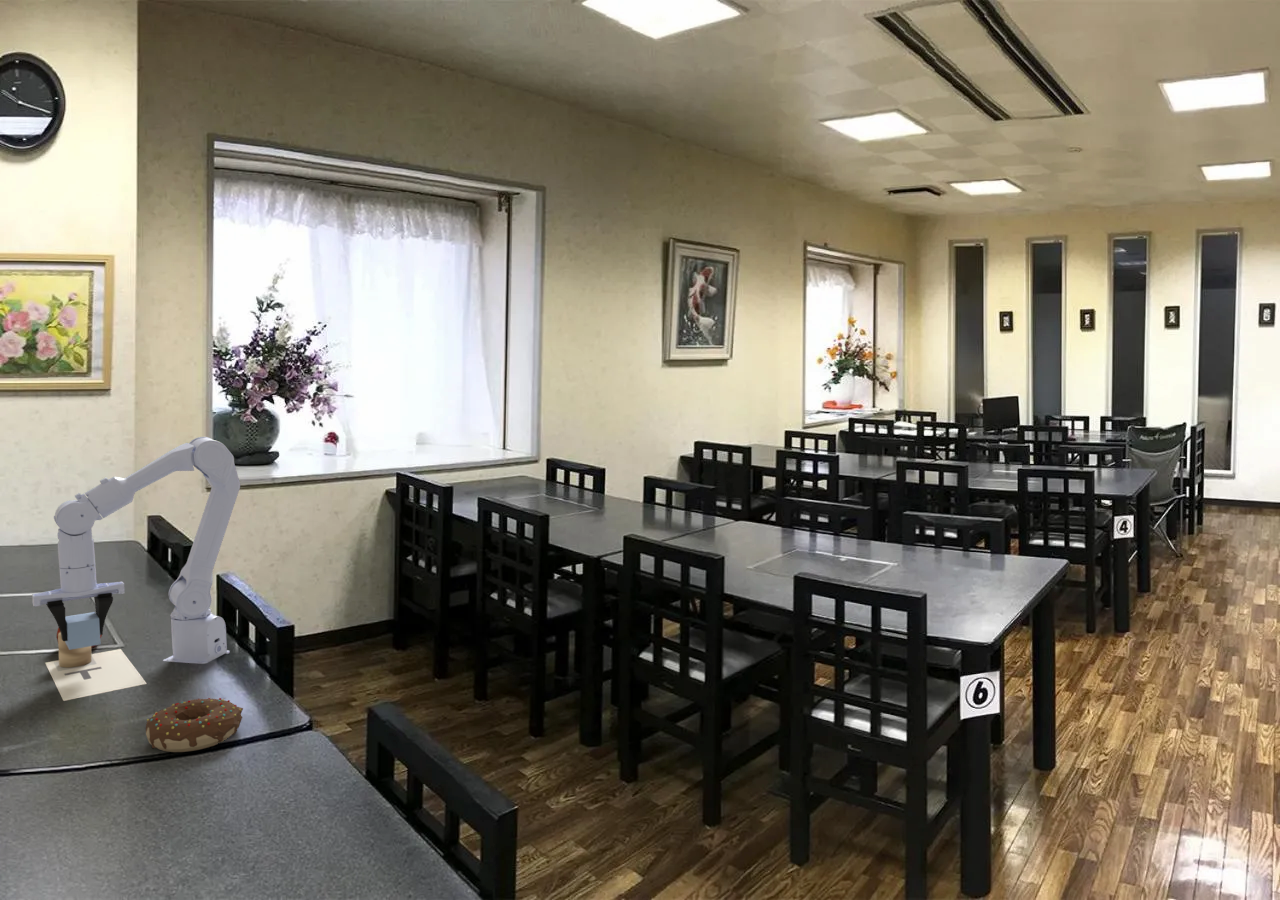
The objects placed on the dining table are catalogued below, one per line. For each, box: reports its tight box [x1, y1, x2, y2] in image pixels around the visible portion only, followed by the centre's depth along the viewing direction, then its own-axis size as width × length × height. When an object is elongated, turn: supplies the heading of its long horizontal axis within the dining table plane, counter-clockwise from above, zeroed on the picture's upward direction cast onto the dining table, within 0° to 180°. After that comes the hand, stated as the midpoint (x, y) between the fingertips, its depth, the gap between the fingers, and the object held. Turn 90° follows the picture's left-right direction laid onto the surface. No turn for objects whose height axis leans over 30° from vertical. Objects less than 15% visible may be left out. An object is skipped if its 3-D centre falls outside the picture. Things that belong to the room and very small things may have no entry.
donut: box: [145, 697, 244, 753], centre depth 145 cm, size 14×14×5 cm
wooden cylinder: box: [57, 633, 92, 667], centre depth 178 cm, size 5×5×6 cm
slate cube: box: [65, 611, 102, 650], centre depth 171 cm, size 5×5×5 cm
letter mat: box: [44, 648, 147, 702], centre depth 173 cm, size 13×25×1 cm, turn 39°
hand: (82, 636), depth 171 cm, fingers closed on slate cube, 5 cm apart
